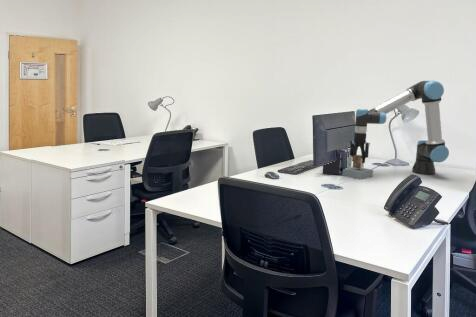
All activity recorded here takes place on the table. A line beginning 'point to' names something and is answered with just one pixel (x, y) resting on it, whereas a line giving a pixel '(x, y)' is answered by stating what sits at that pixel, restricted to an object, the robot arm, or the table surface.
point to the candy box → (349, 159)
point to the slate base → (357, 173)
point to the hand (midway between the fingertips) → (358, 166)
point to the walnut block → (357, 161)
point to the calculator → (333, 166)
